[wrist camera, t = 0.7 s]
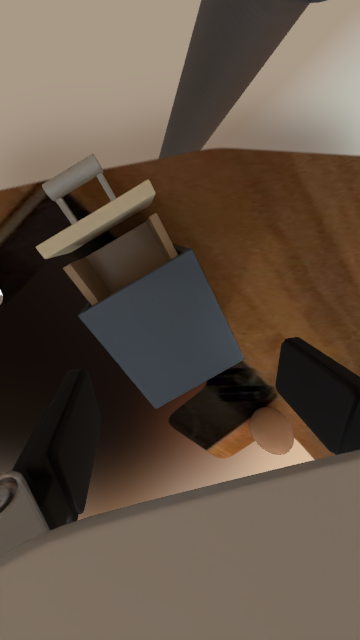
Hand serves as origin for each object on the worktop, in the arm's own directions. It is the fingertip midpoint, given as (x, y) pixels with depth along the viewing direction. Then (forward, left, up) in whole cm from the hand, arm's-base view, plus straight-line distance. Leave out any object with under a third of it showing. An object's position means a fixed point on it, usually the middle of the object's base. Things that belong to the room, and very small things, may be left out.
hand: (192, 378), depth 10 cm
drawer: (-5, -1, -21) cm, 22 cm away
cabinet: (+4, -1, -22) cm, 22 cm away
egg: (+34, +5, -22) cm, 41 cm away
